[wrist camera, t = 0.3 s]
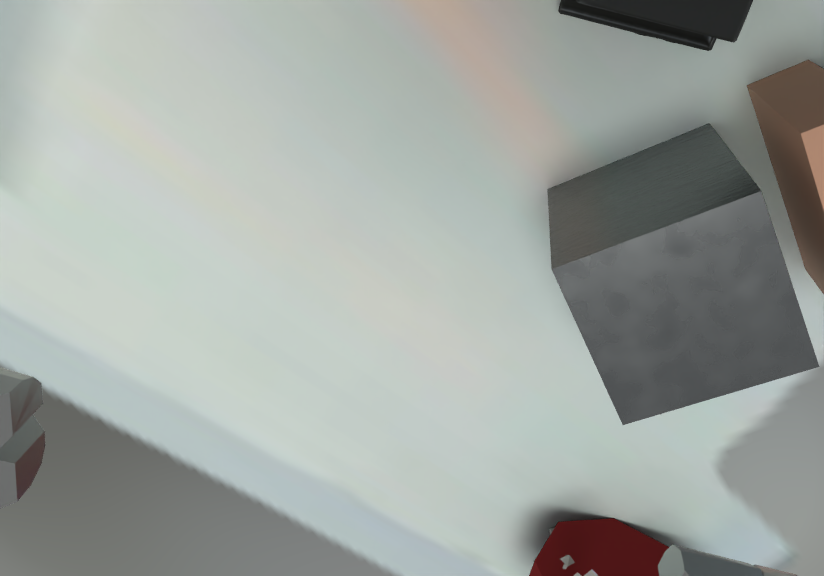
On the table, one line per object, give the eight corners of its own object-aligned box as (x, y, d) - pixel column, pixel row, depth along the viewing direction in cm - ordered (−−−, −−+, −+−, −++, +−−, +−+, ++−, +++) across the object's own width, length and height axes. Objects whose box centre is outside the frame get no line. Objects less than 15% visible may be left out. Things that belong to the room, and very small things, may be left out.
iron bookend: (547, 189, 58) (551, 269, 46) (709, 123, 54) (761, 191, 42) (604, 319, 62) (622, 424, 50) (758, 266, 58) (819, 366, 46)
